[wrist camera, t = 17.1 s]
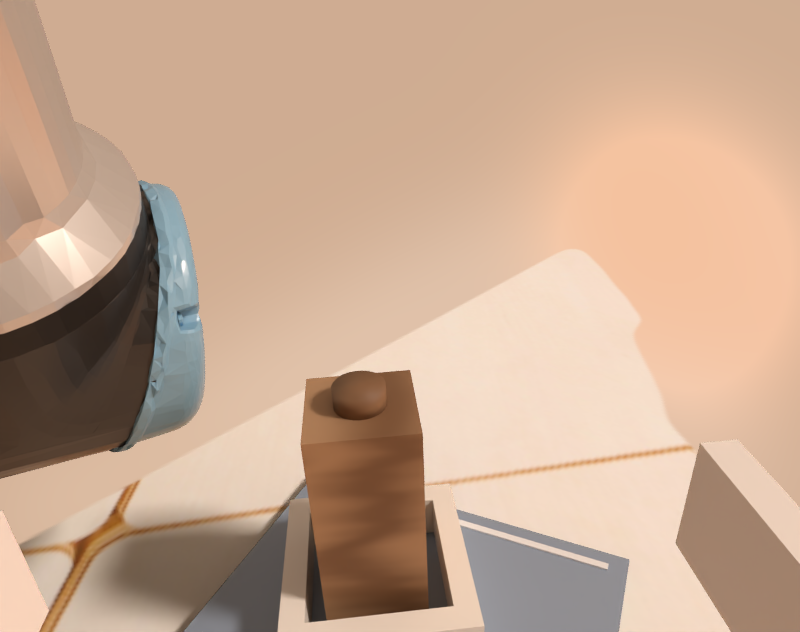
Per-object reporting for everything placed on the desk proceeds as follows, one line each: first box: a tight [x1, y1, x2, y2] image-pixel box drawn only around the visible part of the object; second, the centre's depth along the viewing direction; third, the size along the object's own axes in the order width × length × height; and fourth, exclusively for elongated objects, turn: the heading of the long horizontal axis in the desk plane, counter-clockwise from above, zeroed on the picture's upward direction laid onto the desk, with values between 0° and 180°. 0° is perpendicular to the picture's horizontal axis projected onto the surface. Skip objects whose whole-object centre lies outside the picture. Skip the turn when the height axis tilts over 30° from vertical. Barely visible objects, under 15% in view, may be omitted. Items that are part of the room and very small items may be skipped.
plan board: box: [184, 484, 629, 632], centre depth 32 cm, size 20×14×1 cm
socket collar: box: [278, 484, 485, 632], centre depth 32 cm, size 9×9×2 cm
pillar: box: [301, 370, 429, 620], centre depth 30 cm, size 5×5×13 cm
